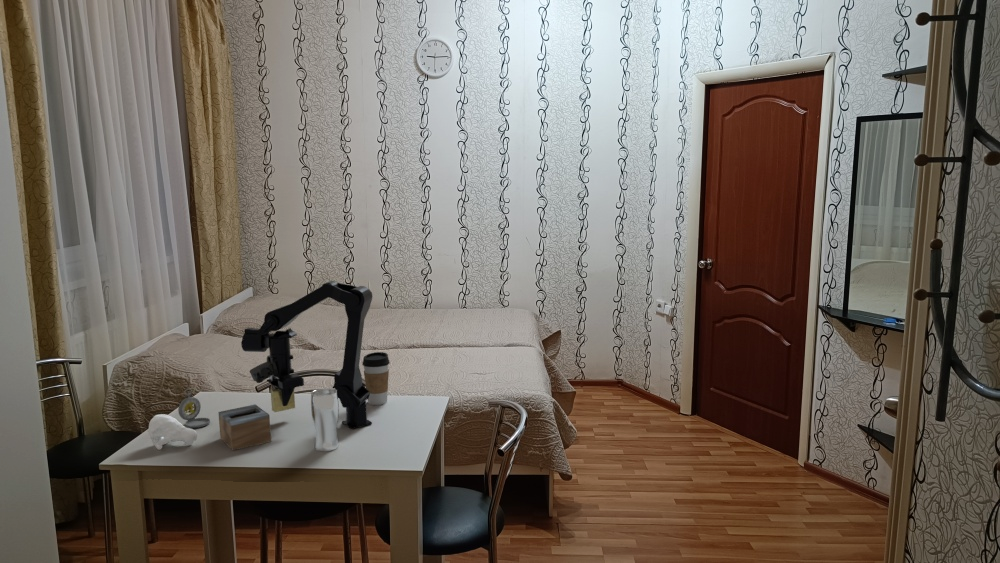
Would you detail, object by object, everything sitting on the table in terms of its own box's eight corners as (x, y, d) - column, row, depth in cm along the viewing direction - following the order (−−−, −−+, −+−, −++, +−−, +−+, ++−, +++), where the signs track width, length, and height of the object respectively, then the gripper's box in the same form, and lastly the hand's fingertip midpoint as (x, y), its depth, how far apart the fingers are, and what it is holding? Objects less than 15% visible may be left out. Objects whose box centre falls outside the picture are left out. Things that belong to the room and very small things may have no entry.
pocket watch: (204, 428, 205) (201, 394, 204) (175, 429, 206) (172, 395, 204) (216, 419, 213) (213, 386, 212) (187, 419, 214) (185, 386, 212)
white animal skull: (156, 410, 195) (201, 413, 195) (155, 440, 196) (200, 443, 197) (145, 418, 189) (192, 421, 189) (145, 449, 190) (191, 452, 190)
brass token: (295, 407, 211) (293, 387, 210) (274, 412, 208) (273, 392, 207) (292, 405, 213) (290, 386, 212) (271, 410, 210) (270, 390, 209)
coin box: (271, 441, 195) (269, 414, 194) (233, 450, 189) (231, 422, 188) (257, 430, 204) (255, 404, 203) (220, 438, 198) (218, 411, 197)
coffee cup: (396, 399, 229) (394, 352, 227) (383, 407, 222) (381, 359, 219) (372, 396, 232) (370, 351, 230) (358, 404, 224) (356, 357, 222)
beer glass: (327, 454, 186) (323, 397, 183) (307, 449, 189) (304, 393, 187) (346, 445, 192) (343, 390, 189) (327, 440, 195) (324, 386, 193)
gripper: (241, 350, 211) (244, 402, 213) (263, 363, 196) (267, 419, 198) (278, 344, 217) (281, 395, 220) (303, 356, 202) (306, 410, 205)
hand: (283, 404), depth 210 cm, fingers closed on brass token, 2 cm apart
